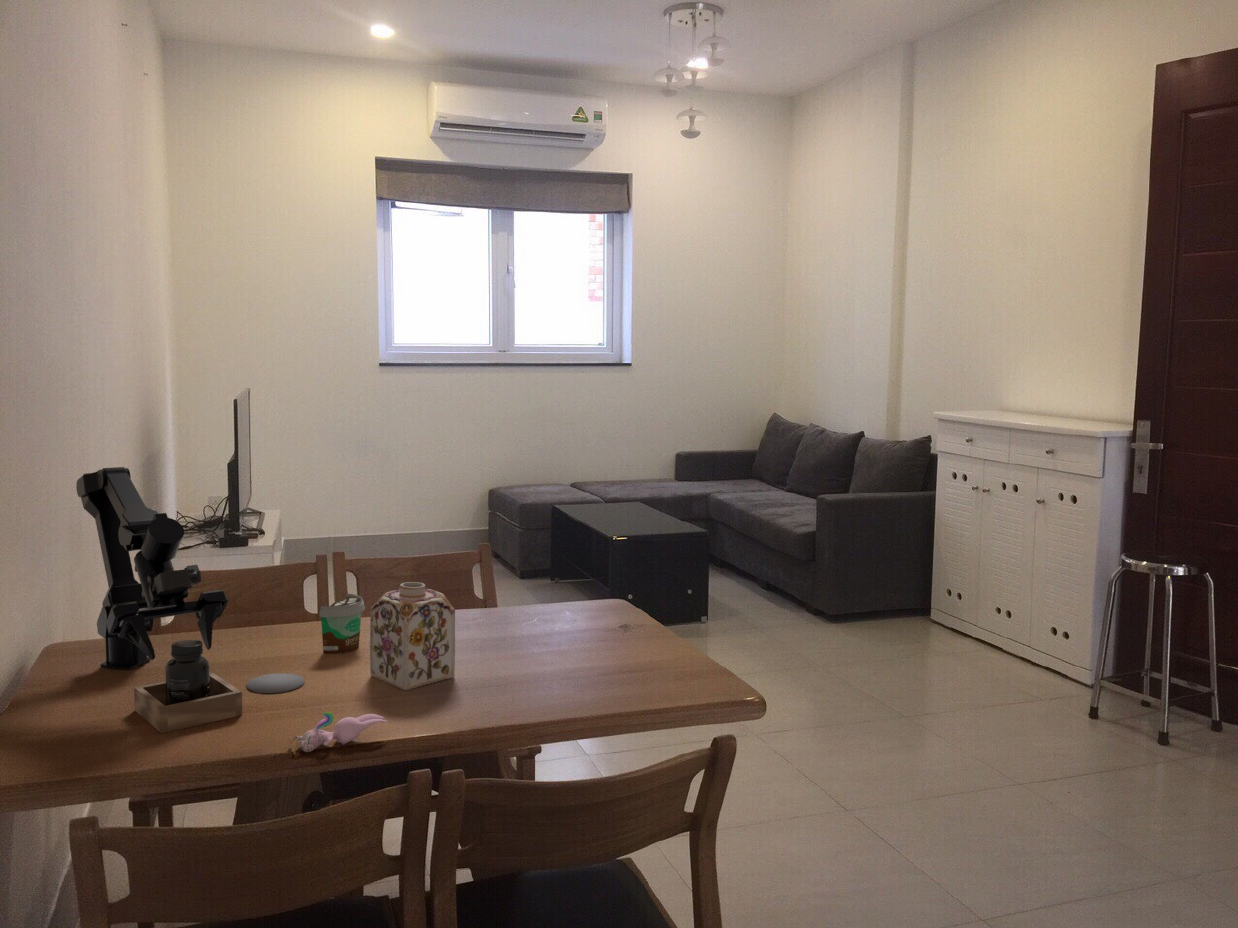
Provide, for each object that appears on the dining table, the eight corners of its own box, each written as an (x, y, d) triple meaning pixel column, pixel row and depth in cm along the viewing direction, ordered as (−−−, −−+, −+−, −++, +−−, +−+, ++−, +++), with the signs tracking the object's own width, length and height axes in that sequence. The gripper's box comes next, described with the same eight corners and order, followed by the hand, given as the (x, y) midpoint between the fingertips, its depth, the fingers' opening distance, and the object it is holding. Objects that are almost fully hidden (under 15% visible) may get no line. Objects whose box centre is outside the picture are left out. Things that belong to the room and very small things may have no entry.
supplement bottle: (219, 711, 170) (217, 642, 169) (182, 723, 165) (181, 651, 163) (193, 702, 174) (192, 635, 173) (157, 714, 168) (155, 644, 167)
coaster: (235, 690, 181) (235, 687, 181) (266, 673, 191) (266, 671, 190) (285, 695, 179) (285, 693, 179) (314, 678, 188) (314, 676, 188)
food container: (348, 658, 201) (347, 609, 200) (319, 655, 202) (319, 607, 201) (375, 641, 213) (375, 595, 212) (348, 638, 214) (347, 592, 213)
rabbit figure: (297, 767, 152) (393, 736, 159) (290, 731, 151) (387, 700, 158) (288, 752, 158) (382, 722, 165) (282, 717, 157) (376, 688, 164)
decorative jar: (368, 676, 190) (368, 583, 188) (419, 663, 199) (419, 574, 197) (405, 692, 182) (406, 595, 180) (457, 678, 191) (457, 585, 189)
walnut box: (134, 710, 170) (134, 687, 169) (212, 694, 179) (212, 672, 178) (161, 733, 160) (160, 708, 160) (242, 714, 169) (241, 691, 169)
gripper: (109, 557, 166) (133, 637, 159) (223, 544, 178) (249, 618, 172) (96, 595, 172) (119, 673, 166) (207, 580, 185) (232, 652, 178)
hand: (182, 653), depth 170 cm, fingers open, 9 cm apart
